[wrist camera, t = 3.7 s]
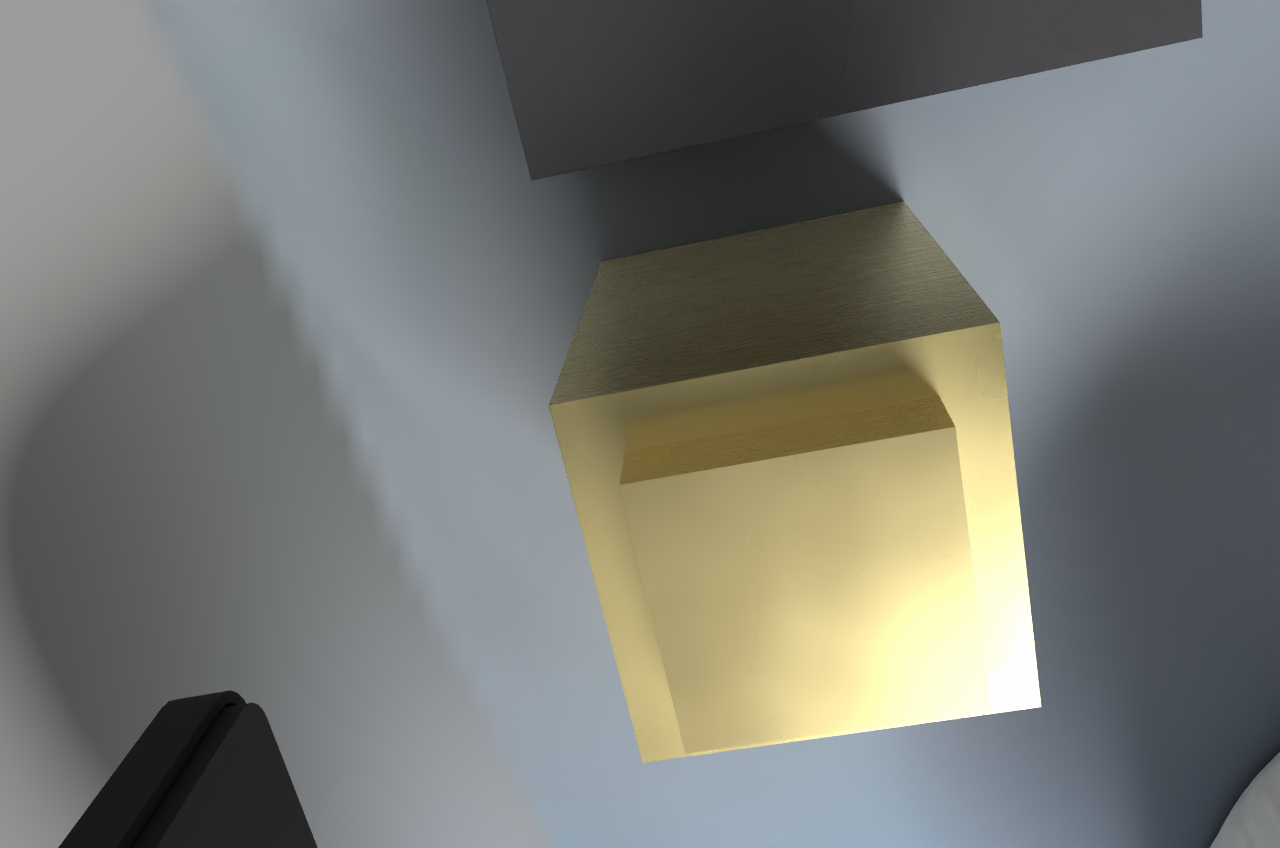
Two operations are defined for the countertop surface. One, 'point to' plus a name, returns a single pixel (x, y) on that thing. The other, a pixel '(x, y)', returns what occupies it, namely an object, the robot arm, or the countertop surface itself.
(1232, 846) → the ramekin
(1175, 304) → the countertop surface
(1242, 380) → the countertop surface
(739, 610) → the yellow rectangular block
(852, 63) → the grey board with holes
